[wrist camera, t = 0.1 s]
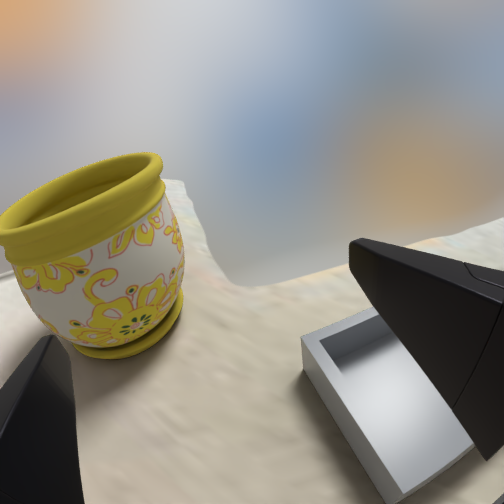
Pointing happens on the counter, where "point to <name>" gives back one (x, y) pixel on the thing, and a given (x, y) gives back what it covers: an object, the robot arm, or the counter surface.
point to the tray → (383, 404)
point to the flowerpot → (100, 255)
